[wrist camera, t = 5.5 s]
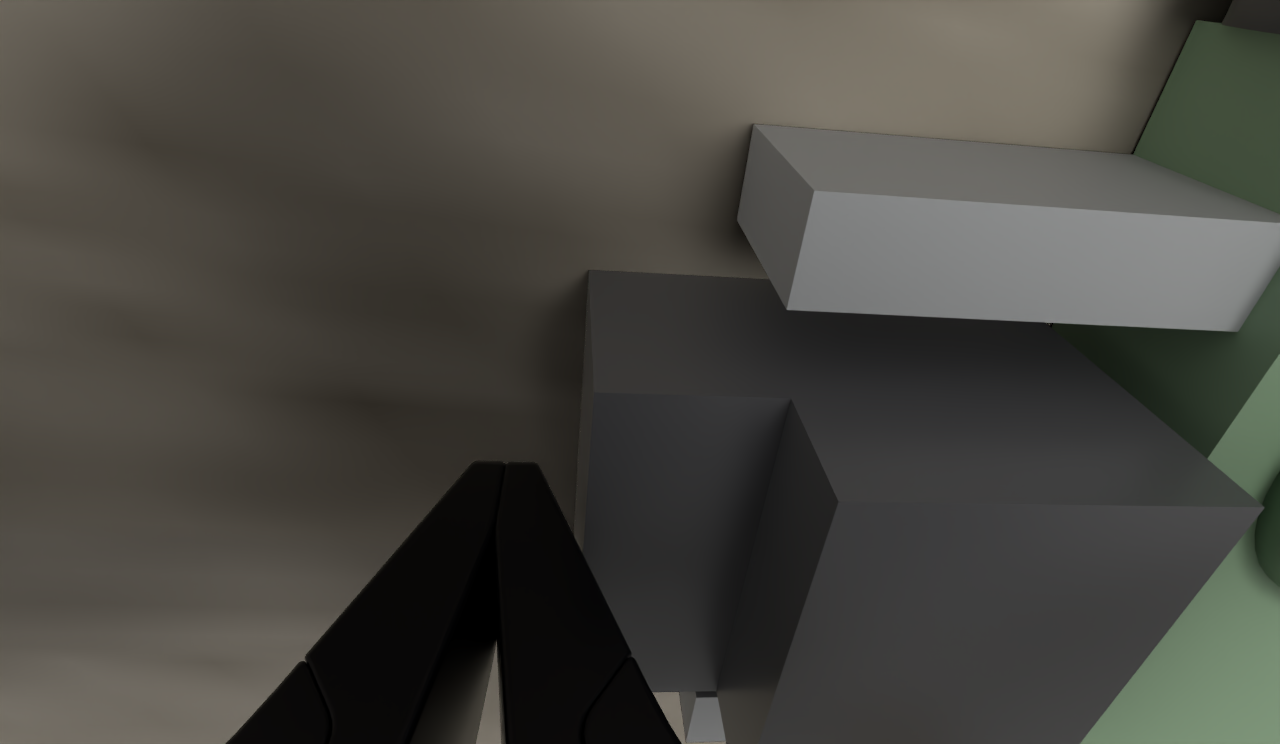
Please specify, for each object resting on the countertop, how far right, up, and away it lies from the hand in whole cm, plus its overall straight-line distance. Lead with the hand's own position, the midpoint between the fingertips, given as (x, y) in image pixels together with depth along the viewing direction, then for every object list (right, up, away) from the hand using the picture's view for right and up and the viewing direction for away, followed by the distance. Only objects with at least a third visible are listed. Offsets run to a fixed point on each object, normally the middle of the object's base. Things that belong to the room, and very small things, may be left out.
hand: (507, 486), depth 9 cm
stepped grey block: (+4, +1, +2) cm, 4 cm away
